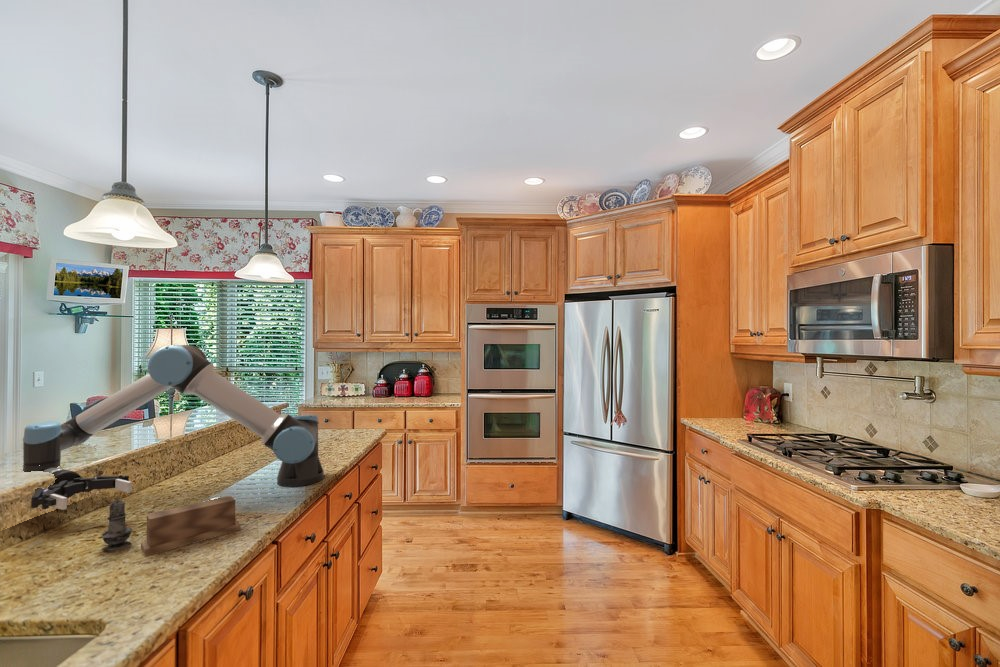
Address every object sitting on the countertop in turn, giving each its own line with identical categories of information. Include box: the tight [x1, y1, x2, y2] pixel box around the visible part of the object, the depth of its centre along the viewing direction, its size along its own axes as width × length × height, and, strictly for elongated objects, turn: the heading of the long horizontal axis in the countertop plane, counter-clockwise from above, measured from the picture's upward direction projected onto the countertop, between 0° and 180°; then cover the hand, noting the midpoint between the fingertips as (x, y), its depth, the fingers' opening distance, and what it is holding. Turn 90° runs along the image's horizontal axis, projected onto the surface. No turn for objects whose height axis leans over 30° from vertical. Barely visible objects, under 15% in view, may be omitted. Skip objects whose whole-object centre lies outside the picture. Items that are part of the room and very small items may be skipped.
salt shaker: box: [100, 496, 134, 553], centre depth 111 cm, size 6×6×12 cm
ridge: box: [140, 495, 241, 557], centre depth 115 cm, size 20×6×8 cm, turn 135°
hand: (99, 495), depth 117 cm, fingers open, 13 cm apart
